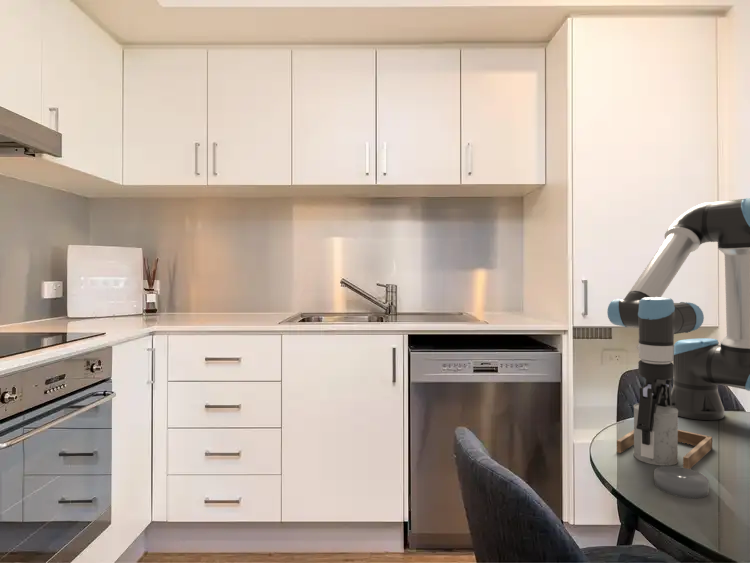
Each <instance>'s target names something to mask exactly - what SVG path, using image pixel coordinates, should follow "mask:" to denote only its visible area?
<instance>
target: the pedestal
mask: <svg viewBox="0 0 750 563" xmlns="http://www.w3.org/2000/svg"><path fill="white" fill-rule="evenodd" d="M653 473H654V474H653V476H654V477H653V483H654V485H655V487H656V488H658V489H659V490H660V491H662V492H664V493H665V494H669V495H672V496H677V497H680V498H686V499H701V498H704V497H707V496H708V495H709V492H710V489H709V487H710V486H709V485H710V484H709V482H710V480H709V478H708V477H707V476H706V475H704V474H703V473H700V472H699V471H696V470H694V469H692V468H691V469H687V468H683V466H676V465H675V466H674V465H666V466H664V465H661V466H658V467H656V468H655V469H654V472H653Z"/></svg>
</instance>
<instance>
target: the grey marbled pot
mask: <svg viewBox="0 0 750 563" xmlns="http://www.w3.org/2000/svg"><path fill="white" fill-rule="evenodd" d="M638 410H639V402H638V403H636V404H633V430H634V445H633V456H634V458H635V459H637V460H638V461H640V462H643V463H646V464H651V465H655V466H674V465H676V464H678V462H679V459H678V453H679V452H678V450H679V449H678V446H679V445H678V444H679V442H678V430H679V429H678V428H679V425H678V423H679V416H678V410H677V409H676V408H674V407H671V406H668V405H667V407H663V406H658V405H657V408H656V413H654V424H653V430H652V431H654V458H653V459H651V458H648V457H644V456H641V430H640V429H637V428H636V426H637V420H638Z"/></svg>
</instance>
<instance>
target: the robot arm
mask: <svg viewBox="0 0 750 563" xmlns="http://www.w3.org/2000/svg"><path fill="white" fill-rule="evenodd" d="M705 243H717V249H718V250H719V251H720V252H721V253H723V255H724V278H725V280H724V281H725V282H724V284H725V286H724V287H725V324H726V326H725V328H726V336H725V337H724V338H723V339H721V341H720V343H719V340H718V339H717V338H707V337H706V338H704V337H703V338H687V339H681V340H677V341H676V342H675V343H674V338H675V337H674V336H675V335H677V334H684V333H685V334H686V333H687V334H688V333H691V332H693V331H697V330H698V329H699V328H701V326H702V325H703V324H704V320H705V317H704V311H703V309H701V307H700V306H698V305H697V304H696V303H694V302H689V301H688V302H687V301H686V302H684V301H681V302H674V300H673V299H672V298H670V297H662V296H663V295H664V293H665V292H666V291H667V289H668V287H669V286H670V284H671V282H672V281H673V279H674V278H675V277H676V275H677V273H678V272H679V271H680V269H681V267H682V266H683V265H684V263H685V262H686V260H687V258H688V257H689V256H690V253H693V252H695V251H697V250H698V249H699V247H700V246H701V245H702V244H705ZM607 318H608V320H609V322H610V323H611V324H613V325H616V326H618V327H624V328H634V329H635V328H636V329H638V345H637V346H636V349H637V350H638V359H640V360H638V366H637V368H638V371H637V373H638V375H639V376H640V377H642V378H644V379H645V383H644V385H643V386H640V387H639V401H638V403H639V410H638V420H637V426H636V428H637V429H640V430H641V456H644V457H648V458H651V459H653V458H654V431H652V430H653V424H654V413H656V408H657V405H658V406H663V407H667V405H668V406H671V407H674V408H676V409H677V410H678V417H681V418H686V419H691V420H698V421H699V420H700V421H718V420H721V419H724V418H725V408H724V405H723V403H722V400H721V397H720V393H719V391H718V386H720V385H722V386H726V387H730V388H736V389H742V390H745V391H748V392H750V198H749V197H746V198H739V199H729V200H720V201H709V202H703V203H700V204H698V205H696V206H693V207H691V208H690V209H688V210H687V211H685V212H684V213H682V214H681V215H680V216H679V217H677V218H676V220H674V221H673V222H672V223H671V225H670V226H669V227H668V228H667V230H666V231H665V234H664V240H663V242H662V244H661V245H660V247H659V248H658V250H657V251H656V252H655V254H654V255H653V257H652V258H651V260H650V261H649V263H648V264H647V265H646V266H645V268H644V270H643V271H642V273H641V274H640V275H639V277H638V278H637V279H636V282H635V283H634V284H633V286H632V287H631V288H630V290H629V291H628V293H627V294H626V296H625V297H624V298H623V299H622V298H615V299H613V300H612V301H610V303H609V304H608V306H607ZM672 379H673V381H672ZM672 382H673V386H672V388H671V384H672Z"/></svg>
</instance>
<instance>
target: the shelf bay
mask: <svg viewBox="0 0 750 563" xmlns="http://www.w3.org/2000/svg"><path fill="white" fill-rule="evenodd" d="M681 442H683V443H682V444H685V443H687V444H686V445H689V444H691V446H693V448H692V449H691V450H690V451H688V453H686V454H685V455H684V456H683V458H682V467H683V468H687V469H691V470H692V468H693V467H694V466H695V465H696V464H697V463H698V462H699V461H701V460H702V459H703V458H704V457H705V456H706V455H707V454H708V453H709V452H710V451H711V450H712V449H713V436H710V435H705V434H699V433H695V432H691V431H687V430H682V429H678V443H681ZM694 445H695V446H694ZM632 446H634V429H632V430H631V431H629V432H628V433H626V434H624V435H623V436H622V437H620V438H618V439H617V440H616V453H620V454H621V453H623V452H625V451H626V450H628V449H629V448H630V447H632Z"/></svg>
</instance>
